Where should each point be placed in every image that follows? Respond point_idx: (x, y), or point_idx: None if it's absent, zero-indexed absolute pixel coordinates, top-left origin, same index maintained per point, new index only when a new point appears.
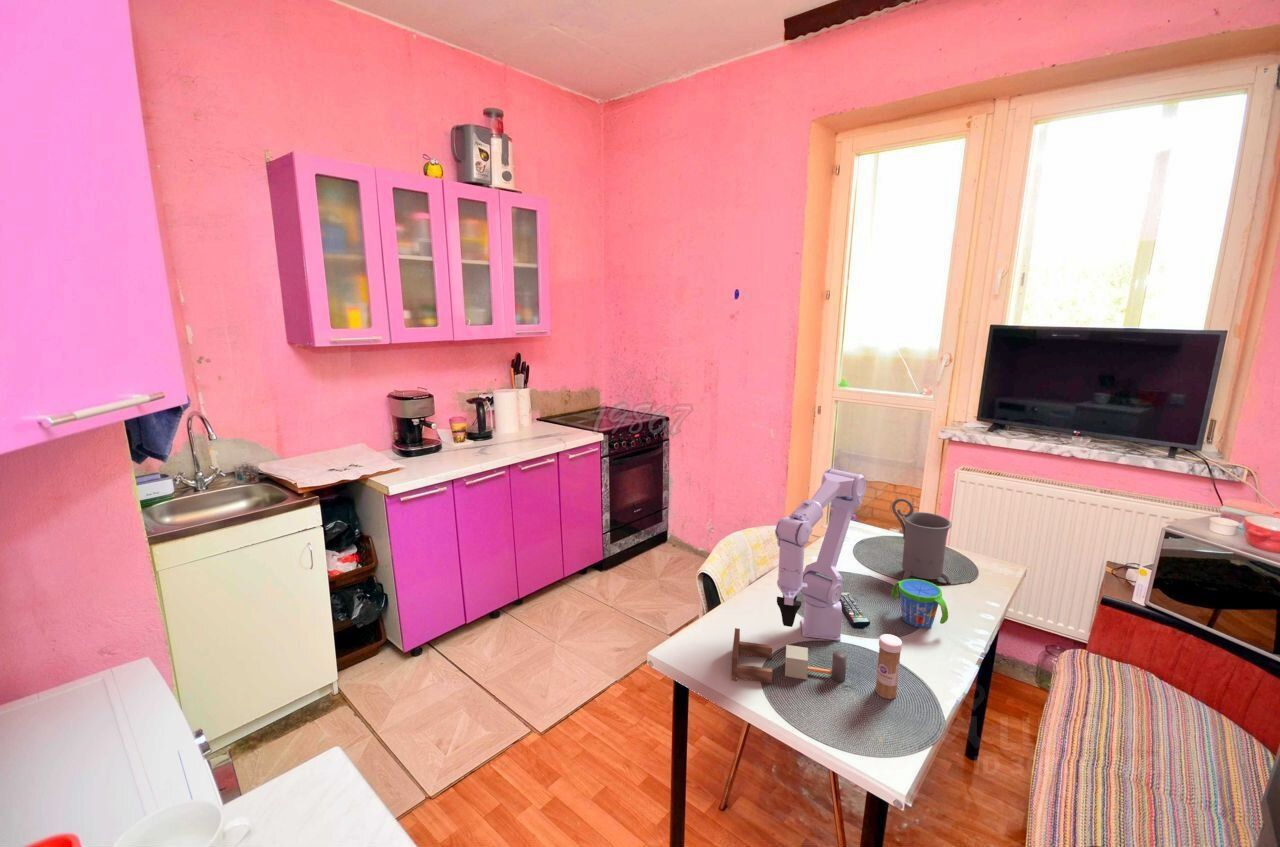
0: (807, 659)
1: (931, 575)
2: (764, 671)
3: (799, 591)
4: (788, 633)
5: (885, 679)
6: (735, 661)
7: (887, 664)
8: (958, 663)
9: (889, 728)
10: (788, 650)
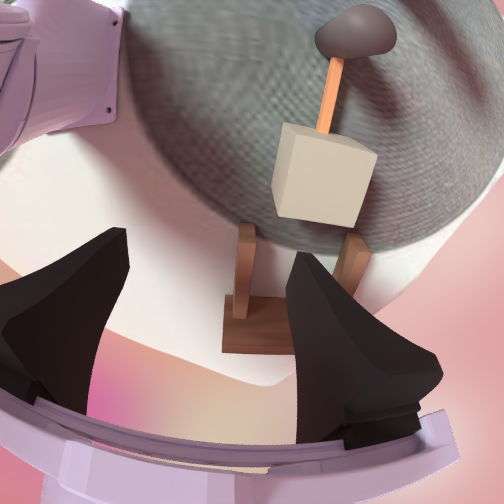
0: (371, 155)
1: None
2: (364, 269)
3: (340, 482)
4: (109, 166)
5: None
6: None
7: None
8: None
9: (477, 29)
10: (315, 213)
